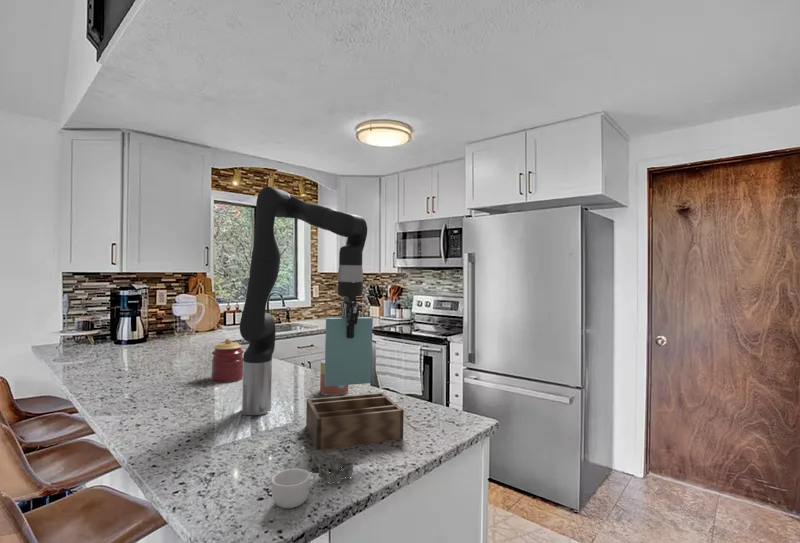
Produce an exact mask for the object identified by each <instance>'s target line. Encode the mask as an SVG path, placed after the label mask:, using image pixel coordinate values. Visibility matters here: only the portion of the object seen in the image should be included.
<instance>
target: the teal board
mask: <svg viewBox="0 0 800 543" xmlns="http://www.w3.org/2000/svg"><path fill="white" fill-rule="evenodd" d="M351 320H353V318H352V319H351ZM373 321H374V318H373V317H372V316H371V317H370V316H368V317H367V316H365V317H362V316H361V317H358V320H357V324H355V326H354V338H347V337H346V332H347V325H346V323H347V319H346V318H342V317H326V318H325V341H324V342H325V343H324V344H325V345H324V346H325V349H324V350H325V352H324V359H325V383H324V385H325V386H326V387H327V386H340V385H348V386H350V385H365V384H372V367H373V366H372V364H373V362H372V361H373V357H372V356H373V326H374V325H373Z"/></svg>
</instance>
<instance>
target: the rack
mask: <svg viewBox="0 0 800 543" xmlns="http://www.w3.org/2000/svg"><path fill="white" fill-rule="evenodd" d="M305 413H306V415H305V417H306V423H305V424H306V428H307V431H308V433H309V436H310V438H311V440H312V443H313V444H314V446H315V450H316V451H321V450H329V449H336V448H345V447H351V446H359V445H367V444H368V445H369V444H374V443H375V444H377V443H383V442H389V441H397V440H398V441H399V440H403V439H404V418H405V417H404V415H405V414H404V413H405V412H404V409H403V408H402V407H401V406H400V405H399V404H397V403H396V402H395V401H394V400H392V399H391V398H390V396H388V395H386V394H385V393H384V392H374V393H373V392H372V393H365V394H364V393H362V394H354V395H353V394H351V395H337V396H329V397H320V398H319V397H317V398H307V399H306V412H305Z"/></svg>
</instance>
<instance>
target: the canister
mask: <svg viewBox="0 0 800 543" xmlns="http://www.w3.org/2000/svg"><path fill="white" fill-rule="evenodd" d="M242 347H243V345H242V344H241V343H238V342H236V341H235V342H234V341H233V342H232V339H231V338H226V339H225V341H224V342H220V343H218V344H216V345H215V346H214V347H213V348H214V350H213V351H211V355H212V360H211V375H210V376H211V380H212V382H215V383H232V382H237V381H241V380H243V355H244V352H245V351H244V350H243V349H242Z"/></svg>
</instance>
